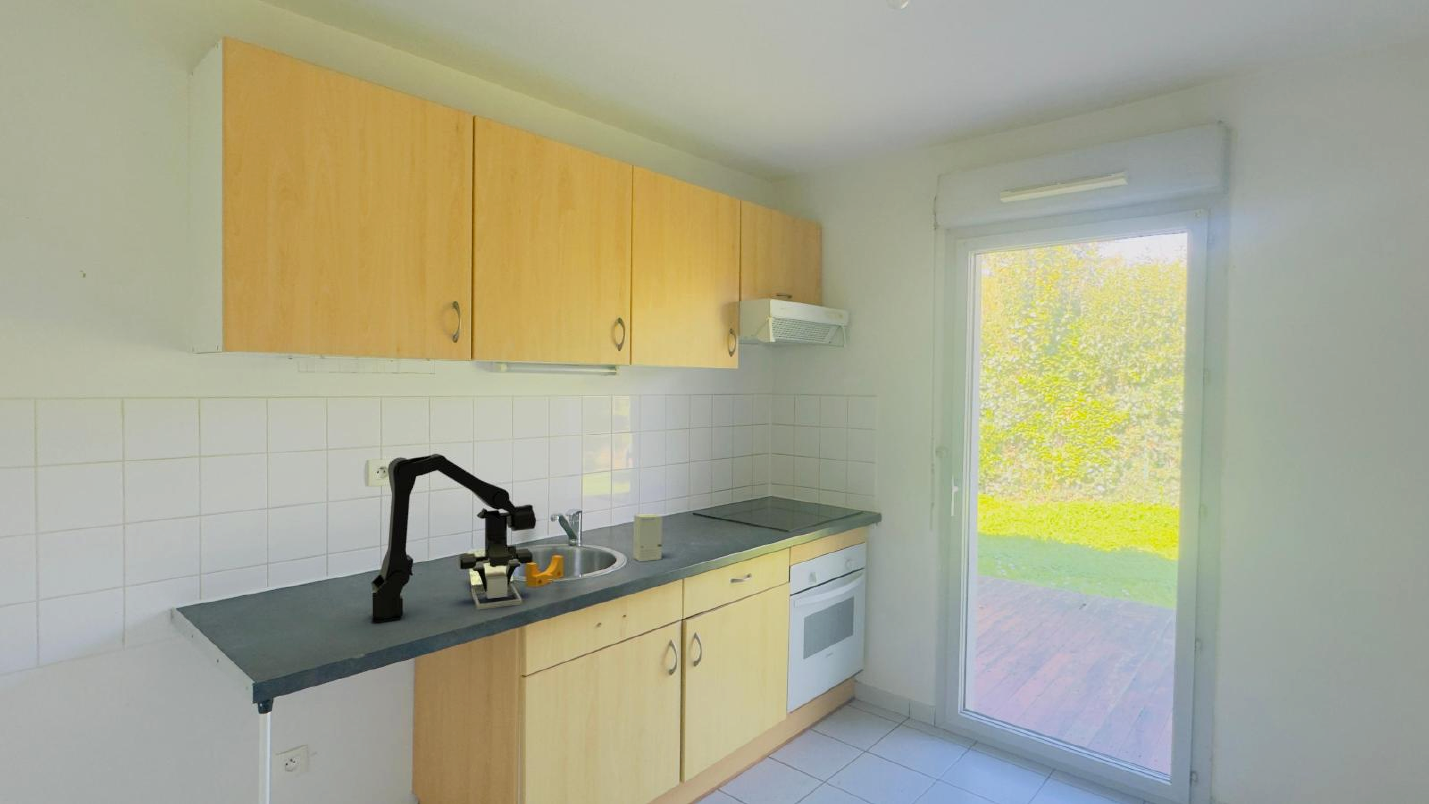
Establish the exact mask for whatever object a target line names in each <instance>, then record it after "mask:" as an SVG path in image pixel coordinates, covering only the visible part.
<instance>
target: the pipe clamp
mask: <svg viewBox="0 0 1429 804" xmlns="http://www.w3.org/2000/svg"><path fill="white" fill-rule="evenodd" d="M550 562H551V563H550V564H549V566H548V567H547V569H546V570H545V571H543V572H541V571H540V570H539V567H538V563H537V562H532V563H525V585H526V586H529V587H533V588H535V587H536V588H539V586H540V587H542V586H541V585H543V586H546V585H548V584H547V583H548V582H551V581H553V582H554V580H548V579H555V580H557V578H559V579H562V578H564V556H562V555H557V554H556V555H553V556H552V558H551V561H550Z"/></svg>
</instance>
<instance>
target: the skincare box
mask: <svg viewBox="0 0 1429 804" xmlns="http://www.w3.org/2000/svg"><path fill="white" fill-rule="evenodd" d="M662 535H663V515H661V514H658V513H640V514H638V513H637V514H634V515H633V553H632V554H633V556H632V557H633V559H635V560H636V561H637V562H639V563H641V562H649V561H656V560H657V561H658V560H661V559H662V547H663V546H662V543H663V542H662V539H663V536H662Z"/></svg>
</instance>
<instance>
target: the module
mask: <svg viewBox="0 0 1429 804" xmlns="http://www.w3.org/2000/svg"><path fill="white" fill-rule="evenodd" d="M485 577H486V585H487V591H486V592H485V593H484V594H485V595H486V598H487V599H488V600H489V599H495V598H496V599H497V598H505V597H507V598H508V591H507V576H506V575H505V573H504V571H503V572H493V573H485Z"/></svg>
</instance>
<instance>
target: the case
mask: <svg viewBox="0 0 1429 804" xmlns="http://www.w3.org/2000/svg"><path fill="white" fill-rule="evenodd" d="M473 553H474V554H475V557H479V556H485V549H480V550H479V549H478V550H470V551H469V550H468V551H466V554H473ZM488 560H489V559H488ZM483 566H484V568H485V573H493V572H503V571H504V573H505V575H506V566H496V567H491V566H490V563H484V565H483ZM468 572H469V579H470V580H469V581H470V587H471V590H470V591H471V597H472V600H473V603H474V604H475V605H474V606H475V609H476V610H477V611H478V610H484V609H485V610H486V609H493V608H502V607H509V606H517V605H518V606H519V605H522V604H523V600H522V598H521V595H520V594H519V592H518V591H517V589H516V587H515V581H514V576H513V574H512V577H511V579H510V582H509V585H508V588H507V592H508V591H511V592H512V595H513V596H514V598H515V599H509V600H503V601H502V600H501V601H494V602H487V603H485V602H484V603H480V601H479V599H478V596H477V595H481V594H482V595H484V594H486V593H485V590H484V587H483V584H482V581H481V578H480V576H479V574H478V572H477V571H473V569H468Z"/></svg>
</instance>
